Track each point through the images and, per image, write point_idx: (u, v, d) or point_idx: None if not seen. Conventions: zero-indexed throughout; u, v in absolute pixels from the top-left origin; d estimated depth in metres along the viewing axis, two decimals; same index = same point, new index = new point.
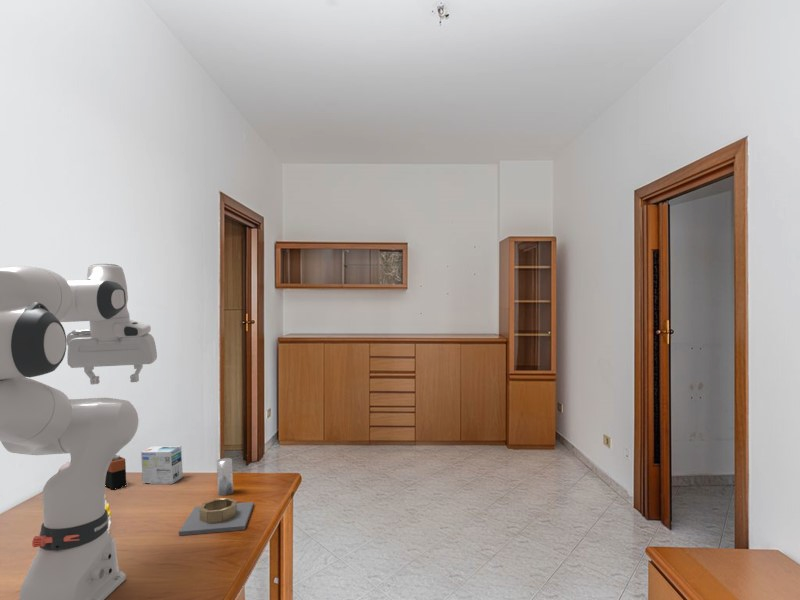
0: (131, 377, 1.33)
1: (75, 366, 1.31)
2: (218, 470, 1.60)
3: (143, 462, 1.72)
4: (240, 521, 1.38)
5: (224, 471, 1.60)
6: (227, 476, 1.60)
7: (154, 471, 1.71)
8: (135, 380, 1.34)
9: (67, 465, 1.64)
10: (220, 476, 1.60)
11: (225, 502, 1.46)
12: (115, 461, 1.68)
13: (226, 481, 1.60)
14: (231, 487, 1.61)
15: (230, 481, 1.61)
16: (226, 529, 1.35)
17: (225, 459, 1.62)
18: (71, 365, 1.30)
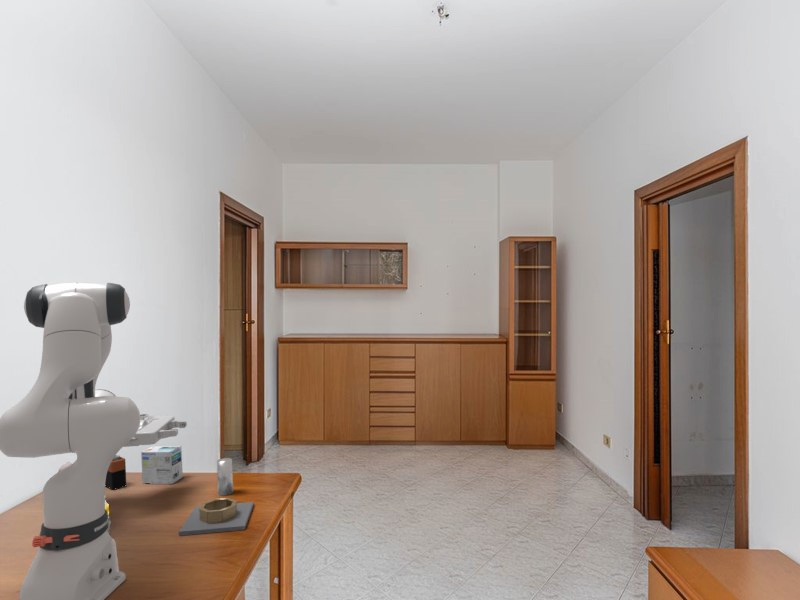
0: (181, 422, 1.64)
1: (155, 430, 1.51)
2: (218, 470, 1.60)
3: (143, 462, 1.72)
4: (240, 521, 1.38)
5: (224, 471, 1.60)
6: (227, 476, 1.60)
7: (154, 471, 1.71)
8: (184, 421, 1.65)
9: (67, 465, 1.64)
10: (220, 476, 1.60)
11: (225, 502, 1.46)
12: (115, 461, 1.68)
13: (226, 481, 1.60)
14: (231, 487, 1.61)
15: (230, 481, 1.61)
16: (226, 529, 1.35)
17: (225, 459, 1.62)
18: (152, 431, 1.50)
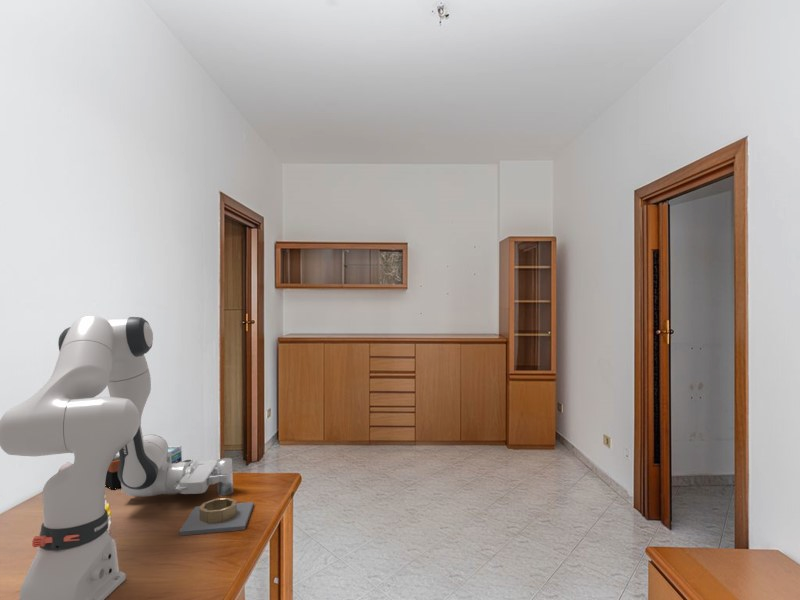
0: None
1: (204, 479, 1.53)
2: (218, 470, 1.60)
3: None
4: (240, 521, 1.38)
5: (224, 471, 1.60)
6: (227, 476, 1.60)
7: None
8: None
9: (67, 465, 1.64)
10: None
11: (225, 502, 1.46)
12: (115, 461, 1.68)
13: (226, 481, 1.60)
14: (231, 487, 1.61)
15: (230, 481, 1.61)
16: (226, 529, 1.35)
17: (225, 459, 1.62)
18: (202, 480, 1.52)
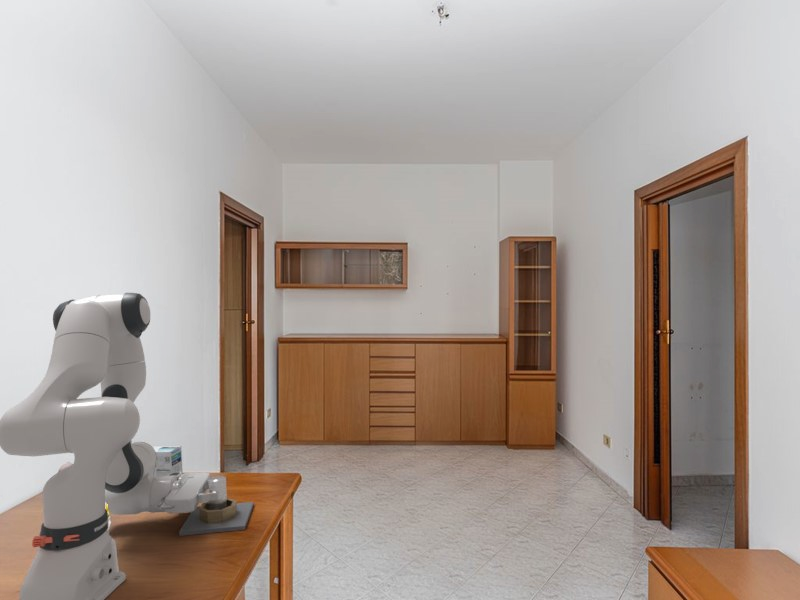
0: None
1: (193, 495, 1.33)
2: (210, 490, 1.40)
3: None
4: (240, 521, 1.38)
5: None
6: (220, 497, 1.40)
7: None
8: None
9: (67, 465, 1.64)
10: None
11: None
12: None
13: (220, 503, 1.40)
14: None
15: (223, 503, 1.41)
16: (226, 529, 1.35)
17: (218, 477, 1.43)
18: (191, 497, 1.33)
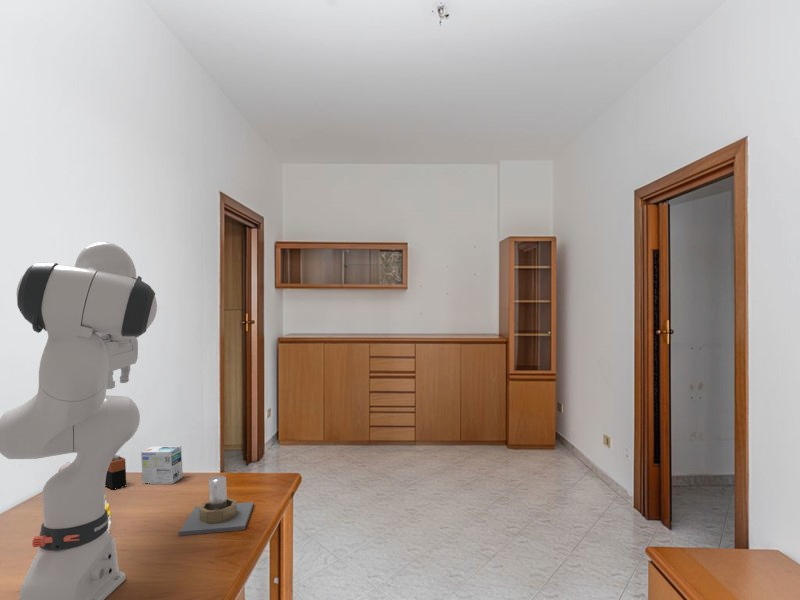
0: (127, 377, 1.45)
1: (111, 370, 1.33)
2: (210, 490, 1.40)
3: (143, 462, 1.72)
4: (240, 521, 1.38)
5: (216, 491, 1.40)
6: (220, 497, 1.40)
7: (154, 471, 1.71)
8: (128, 380, 1.46)
9: (67, 465, 1.64)
10: (212, 497, 1.40)
11: None
12: (115, 461, 1.68)
13: (220, 503, 1.40)
14: None
15: (223, 503, 1.41)
16: (226, 529, 1.35)
17: (218, 477, 1.43)
18: (109, 369, 1.32)
